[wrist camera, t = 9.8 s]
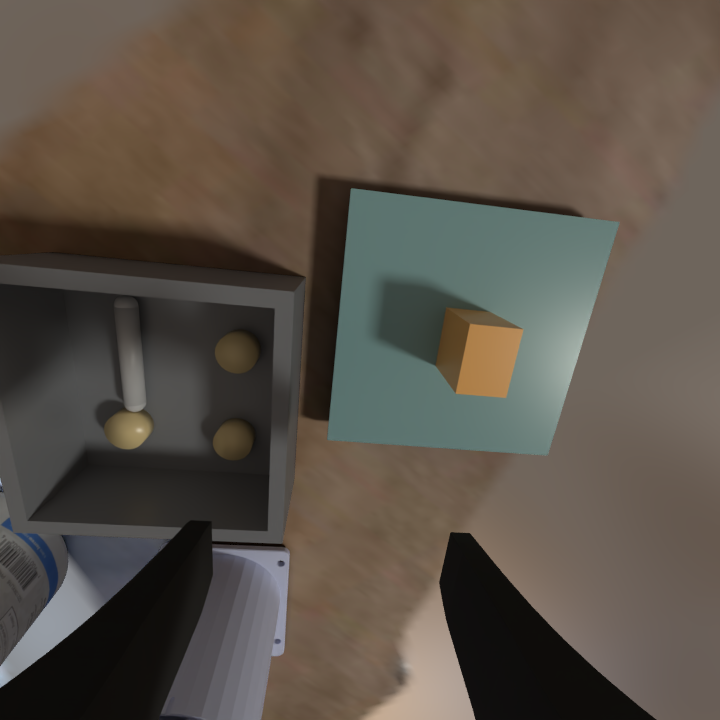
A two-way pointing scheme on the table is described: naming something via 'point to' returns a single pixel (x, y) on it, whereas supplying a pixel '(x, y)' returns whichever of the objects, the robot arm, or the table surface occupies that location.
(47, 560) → the supplement tub
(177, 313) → the parts tub
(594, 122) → the table surface
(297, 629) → the table surface
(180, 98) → the table surface
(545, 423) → the lid
